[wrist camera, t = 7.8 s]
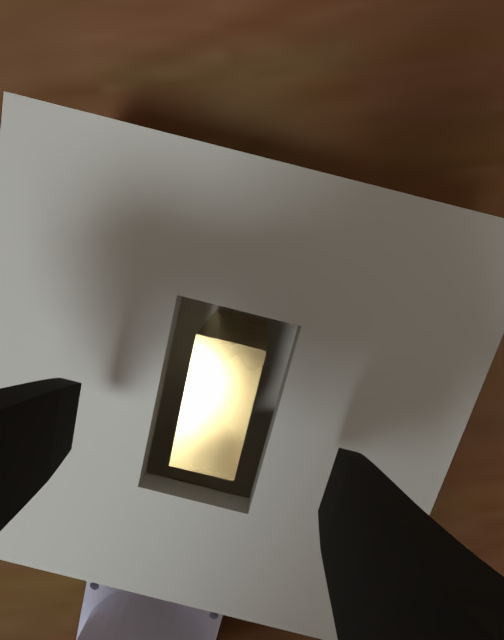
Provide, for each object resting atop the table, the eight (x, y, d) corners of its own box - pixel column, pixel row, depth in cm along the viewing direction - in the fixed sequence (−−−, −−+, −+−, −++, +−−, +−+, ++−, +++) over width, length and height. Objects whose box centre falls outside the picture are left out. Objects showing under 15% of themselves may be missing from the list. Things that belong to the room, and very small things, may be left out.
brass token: (243, 416, 17) (233, 481, 13) (196, 405, 17) (168, 465, 13) (267, 320, 16) (266, 350, 12) (217, 308, 16) (195, 333, 12)
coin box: (341, 528, 19) (373, 651, 13) (56, 457, 19) (-38, 550, 13) (443, 236, 16) (546, 229, 10) (101, 150, 16) (4, 91, 10)
